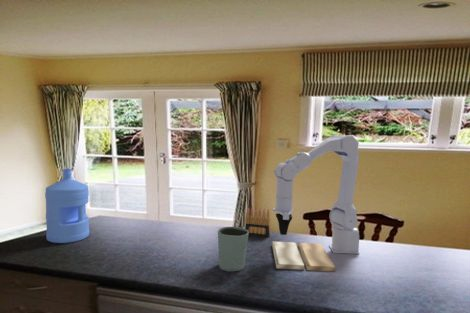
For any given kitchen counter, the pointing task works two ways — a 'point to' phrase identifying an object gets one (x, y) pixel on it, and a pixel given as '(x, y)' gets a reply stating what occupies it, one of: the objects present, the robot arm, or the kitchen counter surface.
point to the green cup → (232, 248)
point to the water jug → (66, 210)
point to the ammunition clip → (258, 223)
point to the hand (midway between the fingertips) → (283, 234)
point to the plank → (287, 255)
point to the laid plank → (315, 257)
